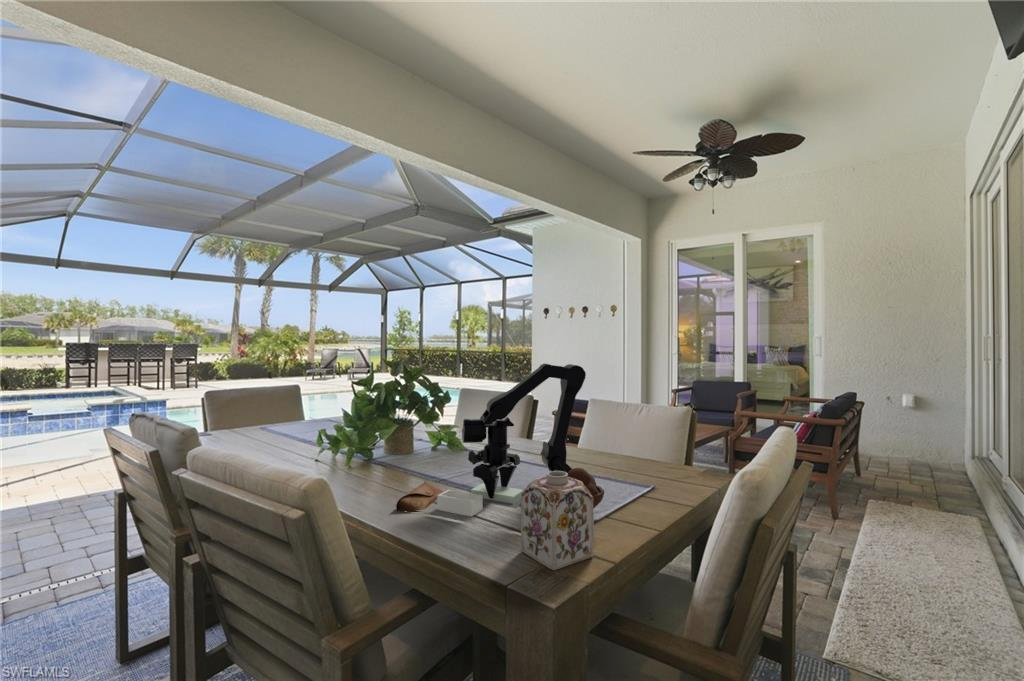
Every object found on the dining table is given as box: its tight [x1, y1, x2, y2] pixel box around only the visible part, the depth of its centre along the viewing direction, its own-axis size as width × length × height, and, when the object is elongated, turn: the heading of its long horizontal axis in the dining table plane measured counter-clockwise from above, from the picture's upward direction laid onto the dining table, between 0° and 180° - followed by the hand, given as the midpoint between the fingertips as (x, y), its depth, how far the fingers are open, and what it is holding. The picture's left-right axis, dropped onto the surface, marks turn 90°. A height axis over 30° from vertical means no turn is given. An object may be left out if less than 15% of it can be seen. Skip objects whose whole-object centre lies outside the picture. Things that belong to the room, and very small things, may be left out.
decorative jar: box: [520, 471, 595, 571], centre depth 107 cm, size 12×12×18 cm
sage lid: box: [470, 482, 525, 504], centre depth 144 cm, size 14×7×2 cm, turn 63°
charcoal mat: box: [469, 491, 521, 509], centre depth 144 cm, size 18×12×1 cm, turn 63°
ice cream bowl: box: [567, 467, 605, 510], centre depth 122 cm, size 11×11×15 cm
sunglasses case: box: [395, 480, 445, 513], centre depth 141 cm, size 18×7×7 cm
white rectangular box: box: [436, 489, 484, 517], centre depth 133 cm, size 11×6×4 cm, turn 63°
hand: (497, 494), depth 144 cm, fingers open, 7 cm apart
